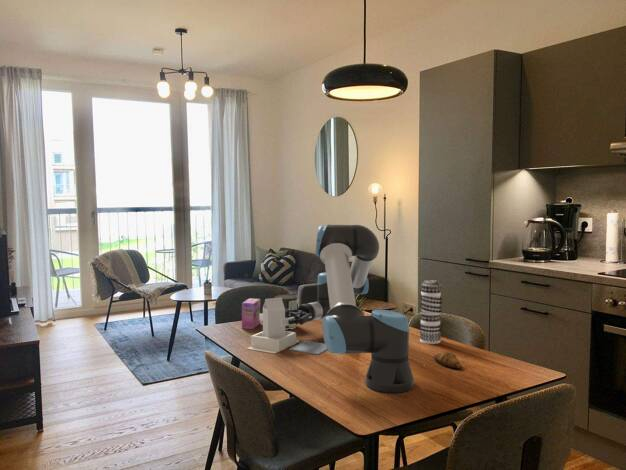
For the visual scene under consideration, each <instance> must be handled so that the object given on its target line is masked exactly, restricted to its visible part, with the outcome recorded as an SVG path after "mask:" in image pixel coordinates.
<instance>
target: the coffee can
mask: <svg viewBox="0 0 626 470" xmlns="http://www.w3.org/2000/svg"><path fill="white" fill-rule="evenodd" d="M274 298H282V301H283V304H284V308H285V309H290V308H291V309H292V310H294V309H298V296H297V295H296V294H295V295H294V294H287V293H286V294H284V293H283V294H278V295H275V296H274ZM289 316H290V315H289ZM290 317H291V316H290ZM286 318H287V317H285V319H286ZM296 327H297V328H298V324H293V325H288V326H285V331H289V330H288V329H291V330H295V329H296ZM294 328H295V329H294Z"/></svg>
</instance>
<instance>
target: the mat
mask: <svg viewBox="0 0 626 470" xmlns="http://www.w3.org/2000/svg"><path fill="white" fill-rule="evenodd" d="M288 350H289V351H293V352H294V351H295V352H300V353H305V354H311V355H321V354H322V353H324V352H326V351H328V350H327V348H326V345H325V342H324V343H322V342H317V341H311V340H304V341H302V342H299V343H298V344H295V345H293V346H291V347H290V348H288Z"/></svg>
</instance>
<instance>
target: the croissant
mask: <svg viewBox="0 0 626 470" xmlns="http://www.w3.org/2000/svg"><path fill="white" fill-rule="evenodd" d="M433 355H434V356H433V359H434V360H435V361H436V362H437V363H439V364H440V365H441V366H445V367H447V366H448V368H450V367H451V369H453V368H455V369H454V370H461V368H462V365H461V362H460V360H459V358H458V357H457V355H456V354H455V353H453V352H450V351H443V352H438V353H435V354H433Z"/></svg>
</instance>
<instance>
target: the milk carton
mask: <svg viewBox="0 0 626 470" xmlns="http://www.w3.org/2000/svg"><path fill="white" fill-rule="evenodd" d="M262 313H263V320H262V331H263V337H267V338H273V339H280V338H282V337H284V336H285V331H286V330H285V326H284V327H281V320H282V319H285V308H284V304H283V301H282V298H275V297H274V298H265V299H264V304H263V306H262Z"/></svg>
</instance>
